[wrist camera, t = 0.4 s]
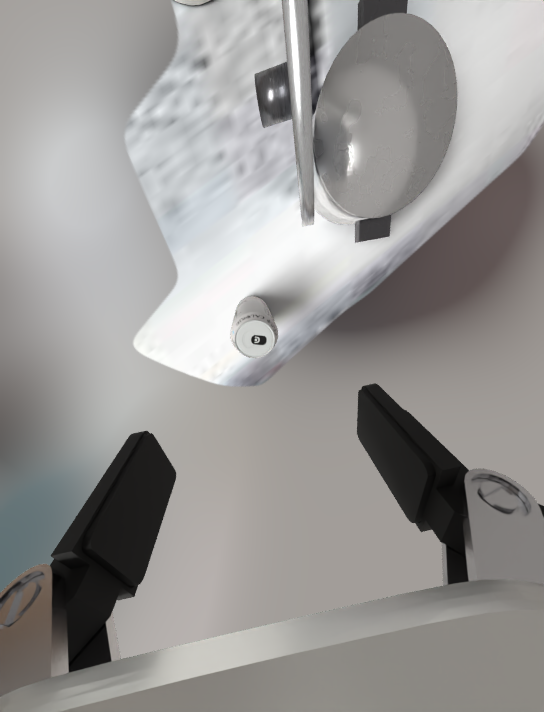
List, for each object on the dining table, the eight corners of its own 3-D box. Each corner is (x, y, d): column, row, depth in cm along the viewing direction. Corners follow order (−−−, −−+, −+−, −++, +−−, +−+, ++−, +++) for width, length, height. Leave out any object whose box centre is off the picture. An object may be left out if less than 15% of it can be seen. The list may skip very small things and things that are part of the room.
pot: (277, 65, 25) (289, -15, 18) (415, 43, 26) (481, -43, 18) (296, 253, 34) (309, 250, 27) (398, 234, 35) (437, 227, 28)
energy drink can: (237, 293, 36) (230, 311, 22) (270, 297, 37) (283, 318, 23) (234, 325, 38) (227, 360, 25) (266, 329, 39) (275, 364, 26)
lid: (303, 24, 19) (263, 41, 20) (287, -1016, 3) (101, -737, 4) (315, 231, 26) (285, 237, 27) (328, 202, 11) (257, 218, 12)
